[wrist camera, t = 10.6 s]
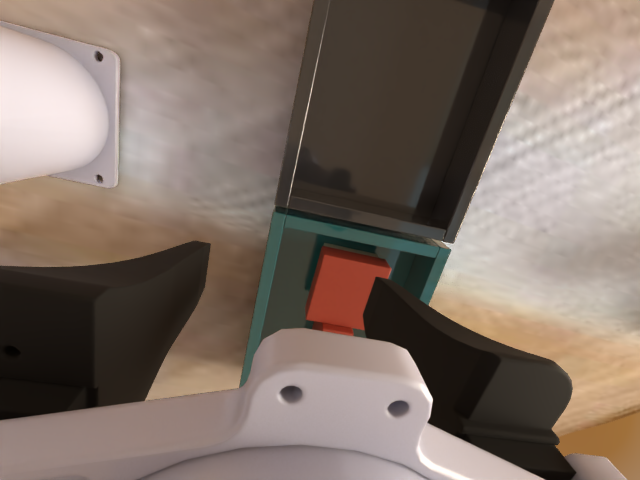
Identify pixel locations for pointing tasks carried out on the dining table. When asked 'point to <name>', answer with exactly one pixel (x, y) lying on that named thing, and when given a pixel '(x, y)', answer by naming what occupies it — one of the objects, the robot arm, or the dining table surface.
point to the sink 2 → (403, 108)
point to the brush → (342, 288)
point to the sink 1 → (302, 257)
